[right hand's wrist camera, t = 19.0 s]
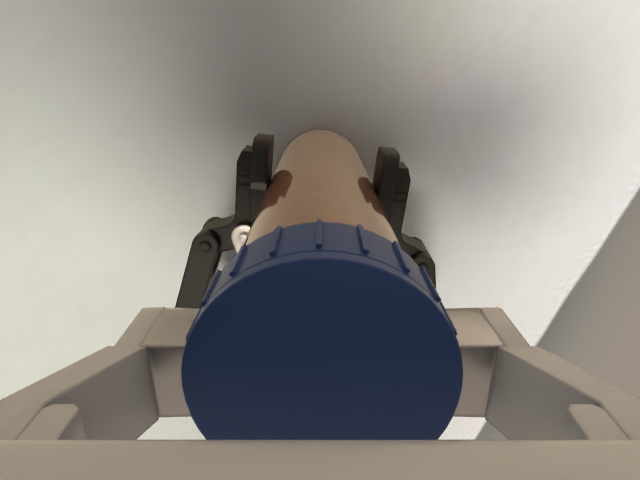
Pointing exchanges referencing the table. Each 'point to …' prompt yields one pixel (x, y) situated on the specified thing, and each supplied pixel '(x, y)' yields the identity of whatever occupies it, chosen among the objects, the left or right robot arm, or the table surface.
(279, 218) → the brown cylinder
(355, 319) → the lid
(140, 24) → the table surface
